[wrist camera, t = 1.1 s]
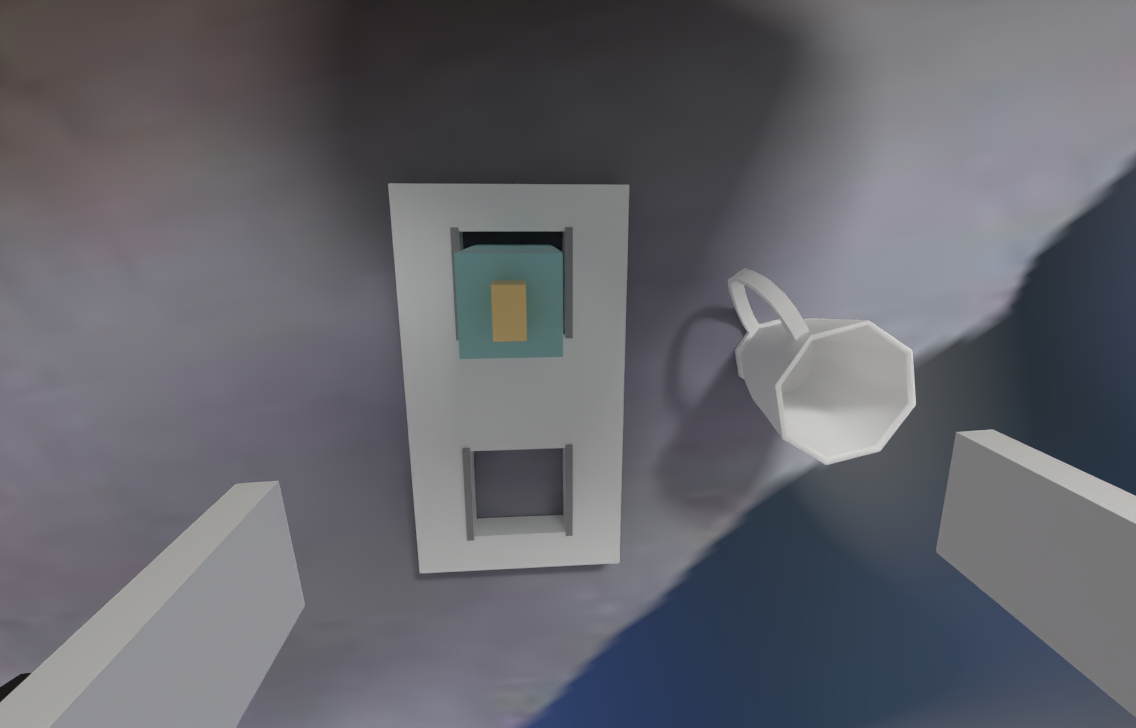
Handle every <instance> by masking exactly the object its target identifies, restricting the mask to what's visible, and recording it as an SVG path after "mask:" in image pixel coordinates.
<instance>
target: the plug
mask: <svg viewBox="0 0 1136 728" xmlns="http://www.w3.org/2000/svg"><path fill="white" fill-rule="evenodd" d="M454 265H455V283H456V302H457V321H458V339H459V358H460V359H488V358H537V357H563V253H562V252H561V251H559V250H558V249H556V248H555V247H553V246H552V245H550V244H476V245H474V246H471V247H468V248H466V249H463V250H461V251H458V252H456V253H454Z"/></svg>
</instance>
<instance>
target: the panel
mask: <svg viewBox="0 0 1136 728" xmlns="http://www.w3.org/2000/svg"><path fill="white" fill-rule="evenodd" d="M388 189H389V202H390V214H391V226H392V239H393V251H394V263H395V276H396V288H397V300H398V313H399V325H400V337H401V350H402V362H403V374H404V387H405V399H406V411H407V424H408V436H409V448H410V461H411V473H412V485H413V498H414V510H415V522H416V535H417V547H418V559H419V572H420V573H440V572H459V571H478V570H497V569H516V568H535V567H554V566H573V565H592V564H611V563H620V526H621V487H622V449H623V411H624V373H625V335H626V297H627V259H628V220H629V185H606V184H413V183H388ZM474 231H562V253H563V357H537V358H488V359H460V358H459V339H458V321H457V302H456V283H455V265H454V253H456V252H458V251H461V250H463V249H464V245H463V232H474ZM551 448H563V515H545V516H522V517H500V518H478V519H477V511H476V491H475V470H474V451H493V450H522V449H551Z"/></svg>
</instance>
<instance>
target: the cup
mask: <svg viewBox="0 0 1136 728" xmlns="http://www.w3.org/2000/svg"><path fill="white" fill-rule="evenodd" d="M744 285H745V286H747V287H749V288H750V289H752V290H754V291H755V292H756V293H757V294H758V295H759V296H761V297H762V298H763V299H764V300H765V301H766V302H767V303H768V304H769V305H770V306H771V307H772V308H773V310H774V311H775V312H776V313H777V315H778V317H779V319H780V320H779V319H777V320H773V321H769V322H765V323H761V324H759V323H758V322H757V320H756V318H755V317H754V314H753V312H752V310H751V307H750V305H749V302H748V298H747V295H746V291H745V287H744ZM728 288H729V292H730V295H731V298H732V301H733V304H734V307H735V310H736V312H737V314H738V317H739V319H740V321H741V323H742V325H743V326H744V328H745V330H746V331H747V332H746V334H745V335H744V337H743V338H742V340H741V341H740V343H739V344H738V346H737V347H736V349H735V356H736V363H737V369H738V375H739V377H741V378H742V379H744V380H745V383H746V385H747V388H748V390H749V392H750V394H751V396H752V399H753V400H754V401H755V403H756V404H757V405H758V407H759V408H760V409H761V410H762V412H763V413H764V414H765V416H766V417H767V418H768V420H769V421H770V423H771V424H772V426H773V427H774V428H775V430H776V431H777V432H778V434H779V435H780V436H781V438H782V439H783V440H785V441H787V442H788V443H790V444H792V445H793V446H795V447H797V448H798V449H800V450H802V451H803V452H805V453H807V454H808V455H810V456H812V457H813V458H815V459H817V460H818V461H820V462H822V463H823V464H825V465H828V464H832V463H836V462H840V461H844V460H848V459H851V458H855V457H859V456H863V455H867V454H871V453H875V452H879V451H881V449H882V448H883V447H884V445H885V444H886V443H887V442H888V440H889V439H890V438H891V436H892V435H893V434H894V432H895V431H896V430H897V429H898V427H899V426H900V425H901V423H902V422H903V421H904V419H905V418H906V417H907V416H908V414H909V413H910V412H911V410H912V409H913V408H914V407H915V405H916V399H915V383H914V367H913V352H912V350H911V349H910V348H908V347H907V346H905V345H904V344H902V343H901V342H899V341H898V340H897V339H895V338H894V337H892V336H891V335H889V334H888V333H886V332H885V331H884V330H882V329H881V328H879V327H878V326H876V325H875V324H873V323H872V322H870V321H869V320H841V319H818V318H807V319H803V318H802V316H801V315H800V313H799V312H798V310H797V309H796V307H795V306H794V304H793V303H792V302H791V301H790V299H789V298H788V297H787V296H786V294H785V293H784V292H783V291H782V290H780V289H779V288H778V287H777V286H776V285H775V284H774V283H773V282H772V281H771V280H769V279H768V278H766V277H764V276H763V275H761V274H759V273H757V272H755V271H753V270H750V269H747V268H744V269H742V270H740V271H739V272H738V273H736V274H735V275H733V276H732V277H731V278H729V279H728Z"/></svg>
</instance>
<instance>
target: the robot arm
mask: <svg viewBox="0 0 1136 728" xmlns="http://www.w3.org/2000/svg"><path fill="white" fill-rule="evenodd" d="M936 552H937V553H938V554H939V555H940V556H942V557H943V558H944V559H945V560H947V561H948V562H949V563H950V564H951V565H953V566H954V567H955V568H956V569H957V570H959V571H960V572H961V573H962V574H963V575H965V576H966V577H967V578H968V579H969V580H971V581H972V582H973V583H975V584H976V585H977V586H978V587H979V588H980V589H981V590H983V591H984V592H985V593H986V594H988V595H989V596H990V597H991V598H992V599H994V600H995V601H996V602H997V603H998V604H1000V605H1001V606H1002V607H1003V608H1005V609H1006V610H1007V611H1008V612H1009V613H1010V614H1012V615H1013V616H1014V617H1015V618H1016V619H1018V620H1019V621H1020V622H1021V623H1022V624H1024V625H1025V626H1026V627H1028V628H1029V629H1030V630H1031V631H1032V632H1033V633H1035V634H1036V635H1037V636H1038V637H1040V638H1041V639H1042V640H1043V641H1044V642H1045V643H1047V644H1048V645H1049V646H1050V647H1051V648H1053V649H1054V650H1055V651H1056V652H1058V653H1059V654H1060V655H1061V656H1062V657H1064V658H1065V659H1066V660H1067V661H1068V662H1070V663H1071V664H1072V665H1073V666H1074V667H1076V668H1077V669H1078V670H1079V671H1081V672H1082V673H1083V674H1084V675H1085V676H1086V677H1088V678H1089V679H1090V680H1091V681H1092V682H1094V683H1095V684H1096V685H1097V686H1098V687H1100V688H1101V689H1102V690H1103V691H1104V692H1106V693H1107V694H1108V695H1109V696H1111V697H1112V698H1113V699H1114V700H1115V701H1117V702H1118V703H1119V704H1120V705H1121V706H1123V707H1124V708H1125V709H1126V710H1127V711H1129V712H1130V713H1131V714H1132V715H1134V716H1135V717H1136V496H1135V495H1132V494H1130V493H1128V492H1126V491H1124V490H1121V489H1120V488H1117V487H1115V486H1113V485H1111V484H1109V483H1107V482H1104V481H1102V480H1100V479H1098V478H1096V477H1094V476H1092V475H1089V474H1087V473H1085V472H1083V471H1081V470H1079V469H1076V468H1074V467H1072V466H1070V465H1068V464H1066V463H1064V462H1061V461H1059V460H1057V459H1055V458H1053V457H1051V456H1049V455H1047V454H1044V453H1042V452H1040V451H1038V450H1036V449H1034V448H1031V447H1029V446H1027V445H1025V444H1023V443H1021V442H1019V441H1016V440H1014V439H1012V438H1010V437H1008V436H1006V435H1004V434H1001V433H999V432H997V431H995V430H979V431H965V432H956V437H955V443H954V449H953V454H952V461H951V467H950V472H949V478H948V484H947V490H946V495H945V502H944V507H943V513H942V520H941V525H940V531H939V537H938V542H937V548H936ZM304 607H305V602H304V598H303V593H302V588H301V583H300V579H299V574H298V569H297V565H296V560H295V555H294V551H293V546H292V541H291V536H290V532H289V527H288V522H287V518H286V513H285V508H284V504H283V499H282V494H281V489H280V485H279V481H266V482H252V483H238V484H235V485H234V486H233V487H232V488H231V489H229V490H228V491H227V492H226V493H225V494H224V495H223V496H222V497H221V498H220V499H219V500H218V501H217V502H215V503H214V504H213V505H212V506H211V507H210V508H209V509H208V510H207V511H206V512H205V513H204V514H203V515H201V516H200V517H199V518H198V519H197V520H196V521H195V522H194V523H193V524H192V525H191V526H190V527H189V528H187V529H186V530H185V531H184V532H183V533H182V534H181V535H180V536H179V537H178V538H177V539H176V540H175V541H173V542H172V543H171V544H170V545H169V546H168V547H167V548H166V549H165V550H164V551H163V552H162V553H161V554H159V555H158V556H157V557H156V558H155V559H154V560H153V561H152V562H151V563H150V564H149V565H148V566H147V567H145V568H144V569H143V570H142V571H141V572H140V573H139V574H138V575H137V576H136V577H135V578H134V579H133V580H131V581H130V582H129V583H128V584H127V585H126V586H125V587H124V588H123V589H122V590H121V591H120V592H119V593H117V594H116V595H115V596H114V597H113V598H112V599H111V600H110V601H109V602H108V603H107V604H106V605H105V606H103V607H102V608H101V609H100V610H99V611H98V612H97V613H96V614H95V615H94V616H93V617H92V618H91V619H89V620H88V621H87V622H86V623H85V624H84V625H83V626H82V627H81V628H80V629H79V630H78V631H77V632H75V633H74V634H73V635H72V636H71V637H70V638H69V639H68V640H67V641H66V642H65V643H64V644H63V645H61V646H60V647H59V648H58V649H57V650H56V651H55V652H54V653H53V654H52V655H51V656H50V657H49V658H47V659H46V660H45V661H44V662H43V663H42V664H41V665H40V666H39V667H38V668H37V669H36V670H35V671H33V672H32V673H26V674H20V675H19V676H17V677H15V678H14V679H12V680H11V681H9V682H8V683H6V684H5V685H3V686H2V687H0V728H236V727H237V725H238V723H239V721H240V720H241V718H242V716H243V714H244V713H245V711H246V709H247V707H248V705H249V704H250V702H251V700H252V698H253V697H254V695H255V693H256V691H257V690H258V688H259V686H260V684H261V683H262V681H263V679H264V677H265V675H266V674H267V672H268V670H269V668H270V667H271V665H272V663H273V661H274V660H275V658H276V656H277V654H278V652H279V651H280V649H281V647H282V645H283V644H284V642H285V640H286V638H287V637H288V635H289V633H290V631H291V630H292V628H293V626H294V624H295V622H296V621H297V619H298V617H299V615H300V614H301V612H302V610H303V608H304Z"/></svg>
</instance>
